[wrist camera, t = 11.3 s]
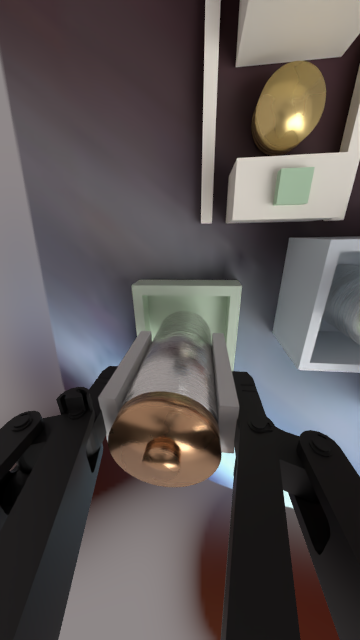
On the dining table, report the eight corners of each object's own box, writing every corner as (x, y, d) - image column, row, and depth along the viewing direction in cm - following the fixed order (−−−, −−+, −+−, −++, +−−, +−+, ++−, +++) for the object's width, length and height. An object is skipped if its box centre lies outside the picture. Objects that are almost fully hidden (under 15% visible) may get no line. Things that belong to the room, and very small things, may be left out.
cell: (156, 310, 16) (90, 417, 7) (211, 310, 16) (226, 426, 6) (160, 357, 18) (110, 498, 8) (210, 358, 18) (220, 509, 8)
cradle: (205, -4, 11) (207, -143, 7) (398, -31, 10) (530, -211, 6) (201, 223, 16) (200, 220, 12) (334, 220, 15) (386, 215, 11)
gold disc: (255, 84, 12) (262, 64, 11) (317, 78, 12) (334, 57, 11) (248, 157, 14) (253, 148, 12) (304, 154, 13) (317, 144, 12)
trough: (139, 279, 18) (131, 285, 16) (237, 280, 17) (242, 286, 15) (150, 397, 24) (145, 412, 21) (226, 401, 23) (228, 418, 21)
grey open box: (289, 237, 16) (331, 239, 11) (407, 235, 15) (515, 236, 10) (272, 332, 19) (298, 369, 14) (368, 335, 18) (434, 376, 13)
